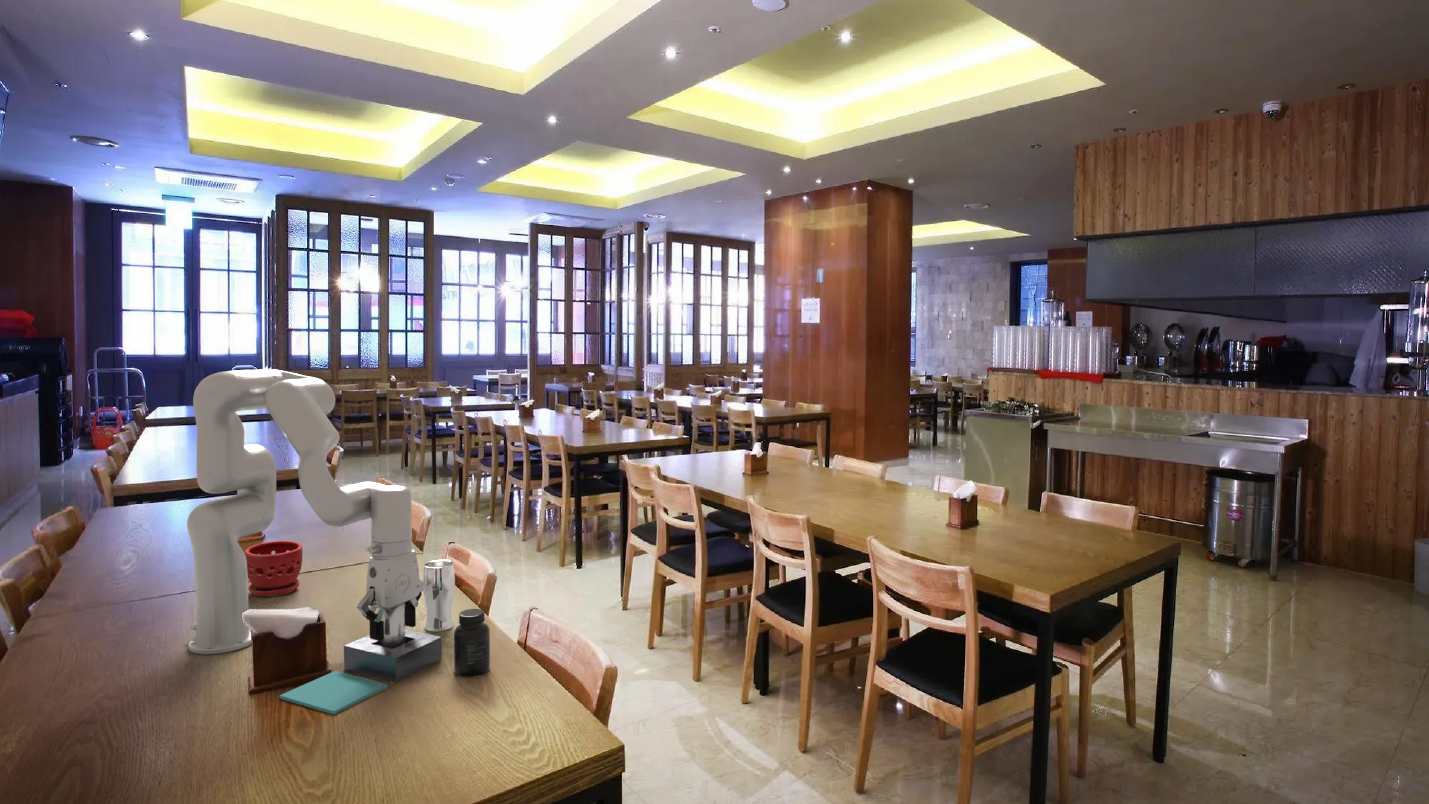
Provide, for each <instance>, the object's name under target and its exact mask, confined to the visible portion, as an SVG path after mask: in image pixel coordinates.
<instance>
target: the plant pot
mask: <svg viewBox="0 0 1429 804" xmlns="http://www.w3.org/2000/svg"><path fill="white" fill-rule="evenodd" d="M272 552H274V554H273V553H272ZM244 554H245V556H246V559H247V571H248V582H250V585H248V592H250V593H251V595H254V596H258V597H266V598H267V597H268V598H270V597H278V596H283V595H287V594H289V593H291V592H294V591H295V590H296V589H298V588H299V586H300V583H301V582H300V579H298V577H299V575H300V573H301V569H302V564H303V545H302V544H301V543H299V542H297V541H290V540H274V541H267V542H261V543H257V544H255V545H251V546H249V547H247V548H246V549H245V550H244Z"/></svg>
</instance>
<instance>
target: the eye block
mask: <svg viewBox="0 0 1429 804" xmlns="http://www.w3.org/2000/svg"><path fill="white" fill-rule="evenodd" d="M442 654H443V653H442V636H439V635H433V634H430V633H424V632H420V631H415V630H410V629H408V628H407V629H406V628H405V644H403V645H401V646H398V647H396V648H394V649H390V648H386V647H382V641H378V640H373V639H370V634H368V635H365V636H364V637H361V638H359V639H356V640H353V641H352V642H349V643H346V644H344V645H343V669H344V671H347V672H351V673H355V674H360V675H363V676H367V677H371V678H374V679H378V680H381V681H386V682H389V683H394V684H398V683H400V682H402V681H404V680H406V679H408V678H410V677H412V676H413V675H416V674H417V673H419V672H422V671H423V670H425V669H427V668H429V667H431V666H432V667H433V666H434V665H436V664H439V661H440V662H442V657H443V656H442Z"/></svg>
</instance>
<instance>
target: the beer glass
mask: <svg viewBox="0 0 1429 804" xmlns="http://www.w3.org/2000/svg"><path fill="white" fill-rule="evenodd" d="M422 581H423V582H424V583H425V587H424V589H423V591H422V593H423V596H424V601H425V605H426V606H425V608H426V622H425V630H426V631H427V632H431V633H440V632H441V633H442V632H445V631H449V630H451V629H452V628H453V627H454V621H453V620H454V619H453V617H452V607H453V601H454V600H453V599H454V596H455V595H454V593H455V589H456V588H455V587H456V574H455V563H454V561H452V560H450V559H436V560H430V561H427V562H425V563H424V564H423V573H422Z"/></svg>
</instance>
